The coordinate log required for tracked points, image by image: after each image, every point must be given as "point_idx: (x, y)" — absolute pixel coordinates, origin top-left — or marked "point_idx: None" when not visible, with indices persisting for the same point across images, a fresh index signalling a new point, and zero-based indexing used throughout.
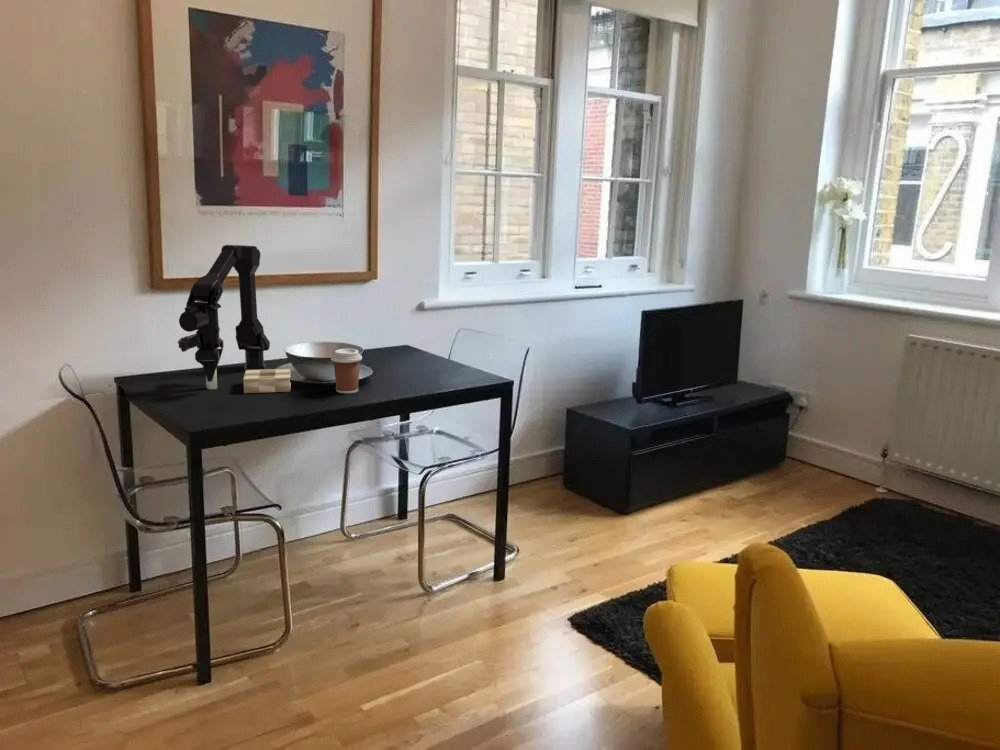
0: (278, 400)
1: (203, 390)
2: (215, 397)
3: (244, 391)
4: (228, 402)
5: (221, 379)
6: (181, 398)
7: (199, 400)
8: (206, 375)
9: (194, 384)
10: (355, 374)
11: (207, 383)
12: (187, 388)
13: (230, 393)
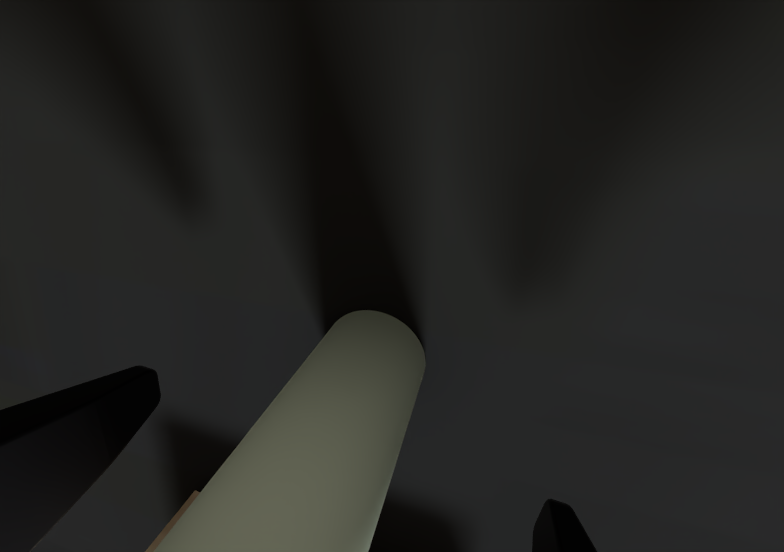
0: (75, 548)
1: (302, 270)
2: (92, 320)
3: (188, 502)
4: (3, 364)
5: (731, 512)
6: (26, 25)
7: (3, 197)
8: (29, 406)
9: (634, 205)
10: None
11: (317, 348)
12: (434, 97)
13: (192, 427)
